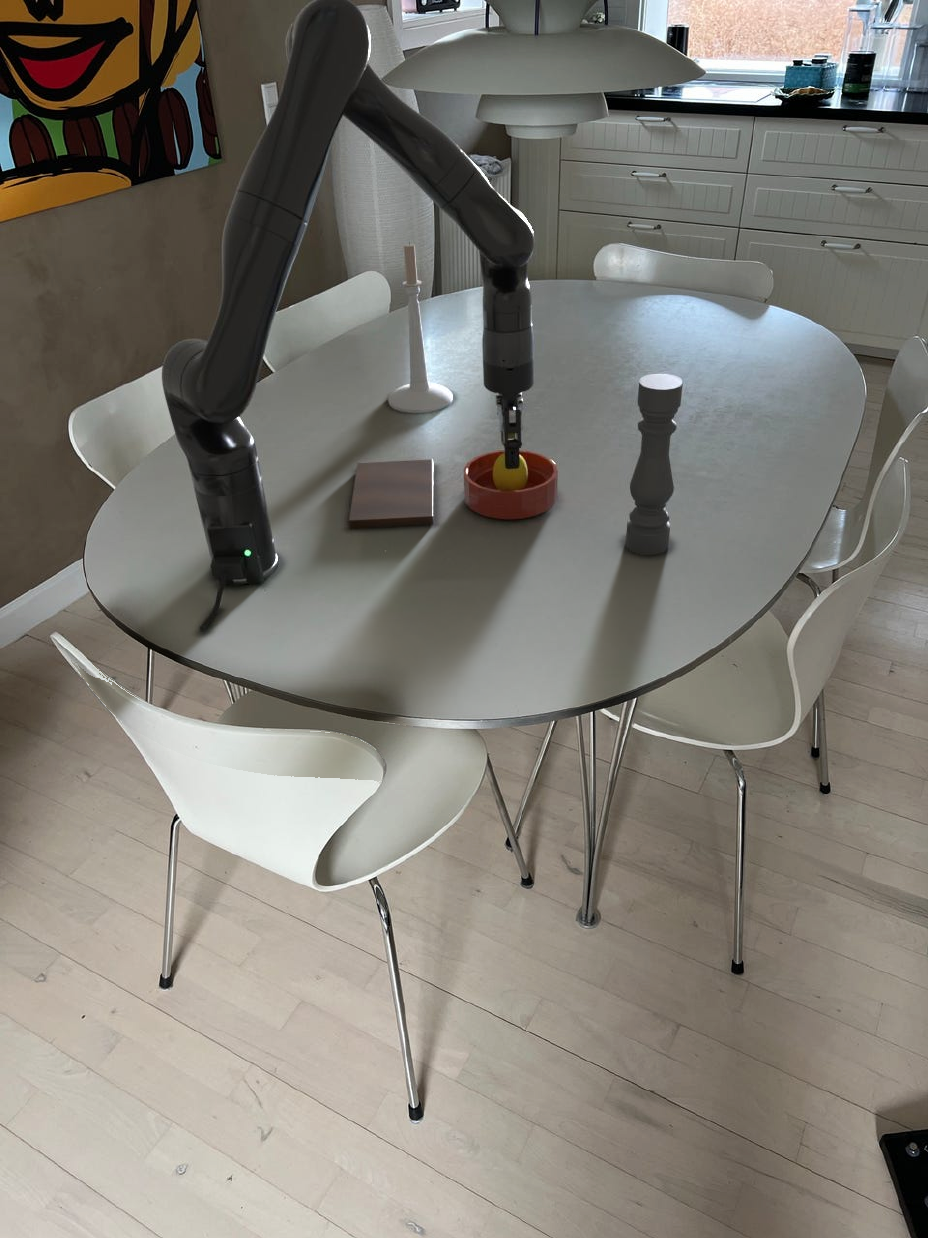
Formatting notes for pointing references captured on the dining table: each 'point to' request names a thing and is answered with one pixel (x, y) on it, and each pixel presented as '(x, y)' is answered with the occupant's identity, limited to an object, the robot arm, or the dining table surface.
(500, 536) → the dining table surface
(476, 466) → the bowl
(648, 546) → the candle holder
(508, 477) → the lemon
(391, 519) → the board
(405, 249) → the candlestick
